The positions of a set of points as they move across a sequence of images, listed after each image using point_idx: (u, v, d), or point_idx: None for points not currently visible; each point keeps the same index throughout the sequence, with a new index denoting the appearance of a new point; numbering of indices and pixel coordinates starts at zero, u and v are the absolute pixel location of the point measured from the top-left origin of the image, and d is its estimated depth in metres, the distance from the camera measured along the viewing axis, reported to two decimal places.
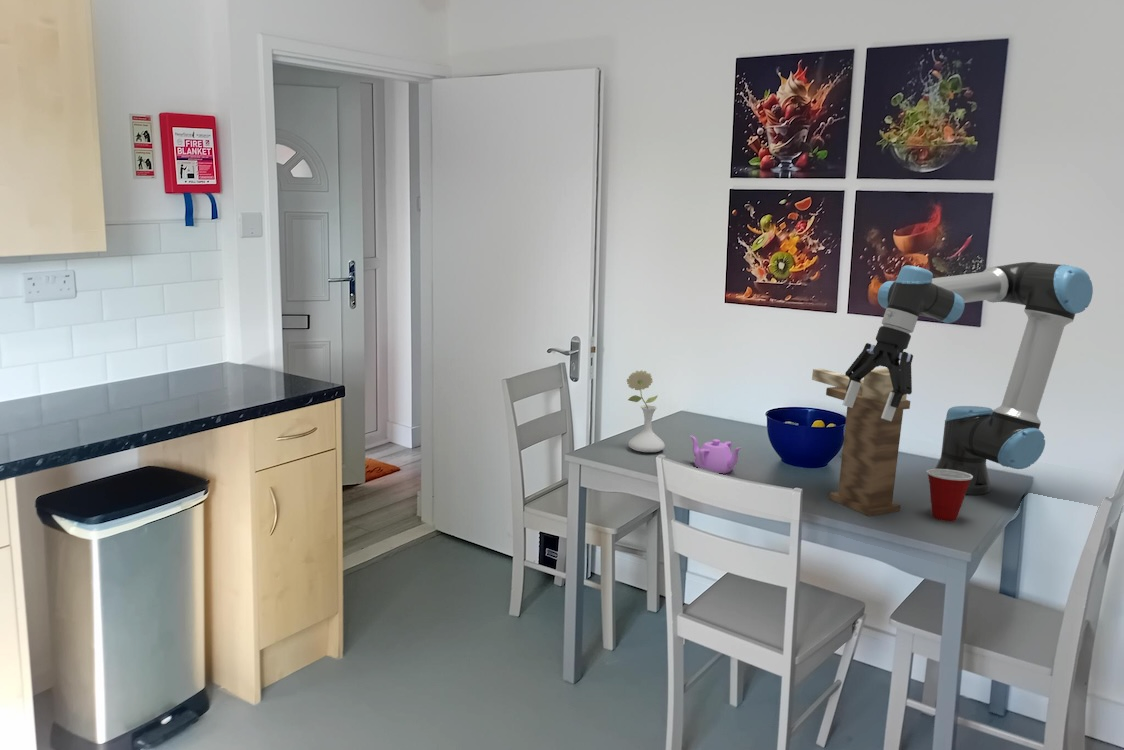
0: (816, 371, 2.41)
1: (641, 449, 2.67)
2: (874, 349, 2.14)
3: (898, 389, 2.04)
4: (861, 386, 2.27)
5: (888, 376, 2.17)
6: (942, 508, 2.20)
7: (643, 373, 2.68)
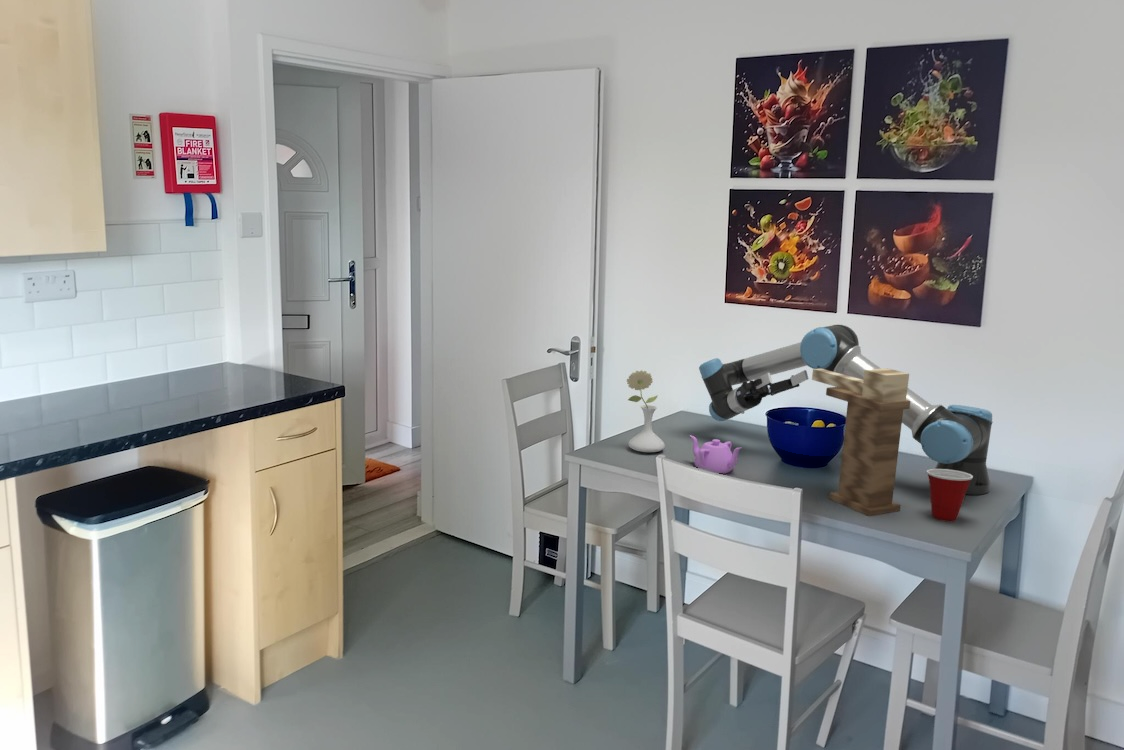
0: (816, 371, 2.41)
1: (641, 449, 2.67)
2: None
3: (751, 388, 2.56)
4: (861, 386, 2.27)
5: (888, 376, 2.17)
6: (942, 508, 2.20)
7: (643, 373, 2.68)
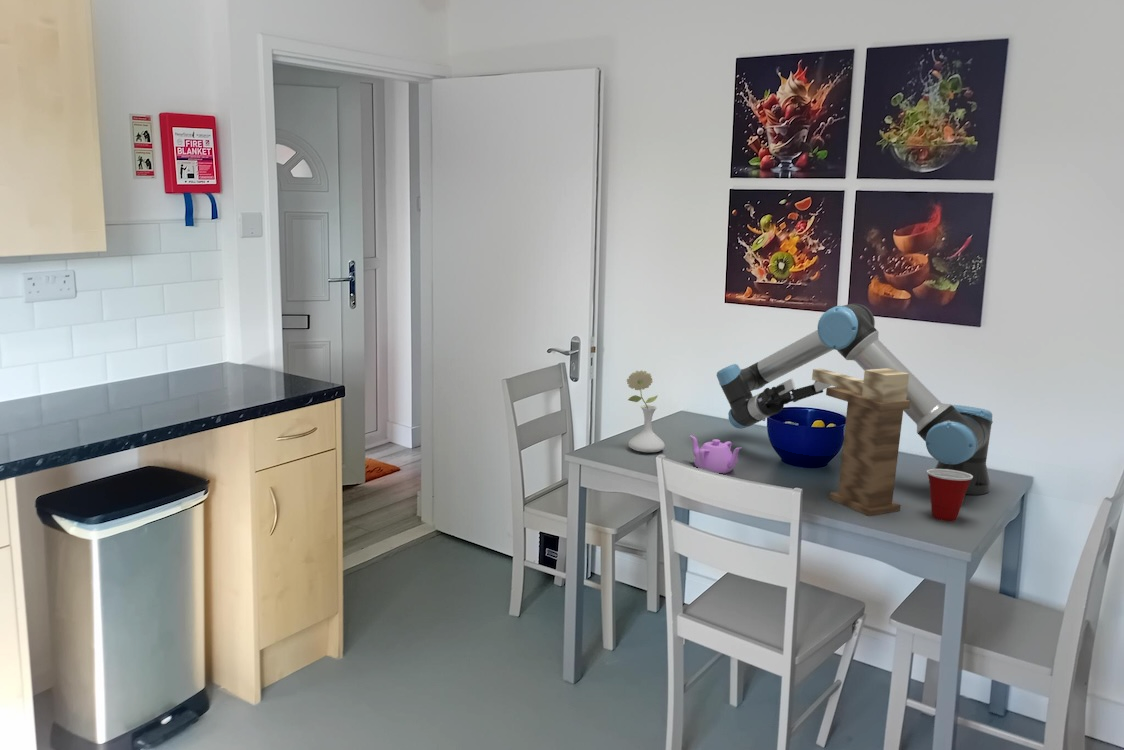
0: (816, 371, 2.41)
1: (641, 449, 2.67)
2: None
3: (773, 395, 2.47)
4: (861, 386, 2.27)
5: (888, 376, 2.17)
6: (942, 508, 2.20)
7: (643, 373, 2.68)
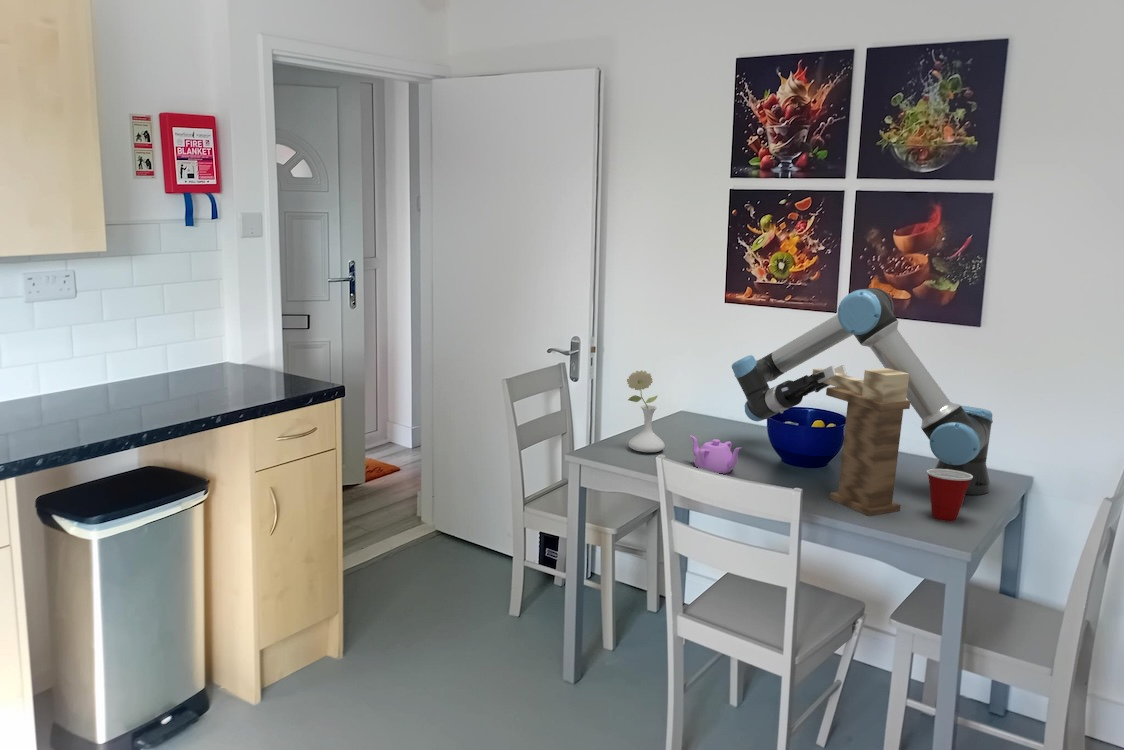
0: (816, 371, 2.41)
1: (641, 449, 2.67)
2: None
3: (812, 382, 2.40)
4: (861, 386, 2.27)
5: (888, 376, 2.17)
6: (942, 508, 2.20)
7: (643, 373, 2.68)
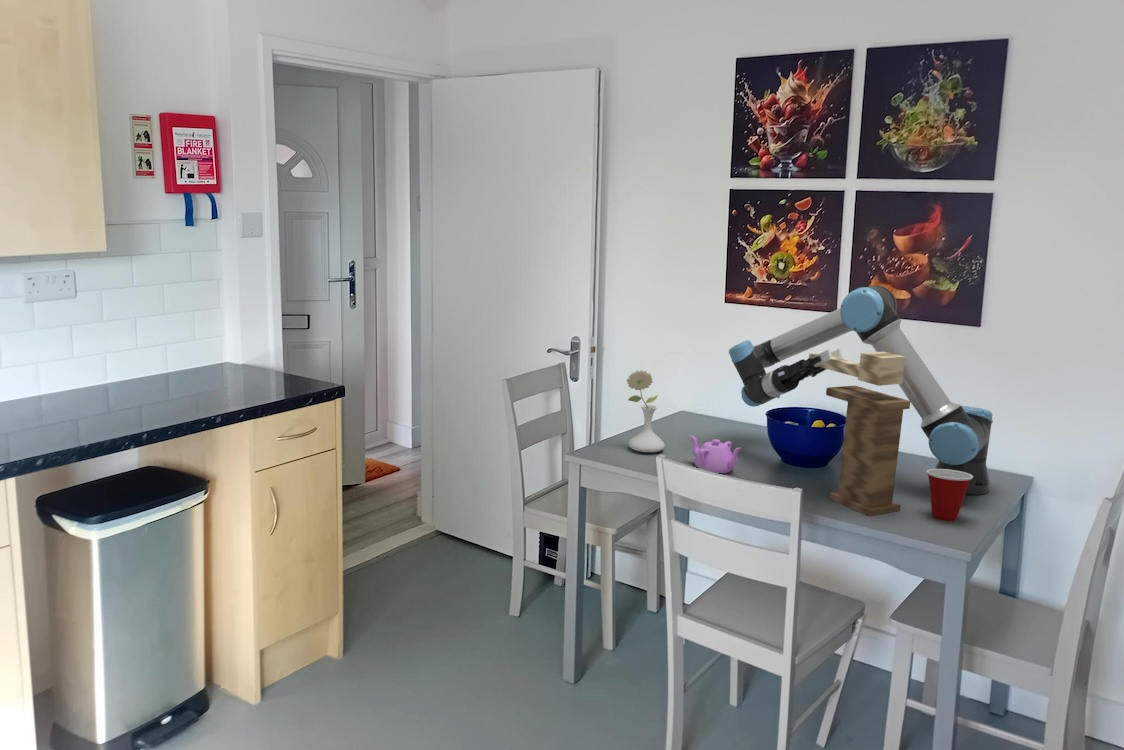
0: (812, 355, 2.42)
1: (641, 449, 2.67)
2: None
3: (809, 366, 2.41)
4: (857, 369, 2.28)
5: (884, 359, 2.17)
6: (942, 508, 2.20)
7: (643, 373, 2.68)
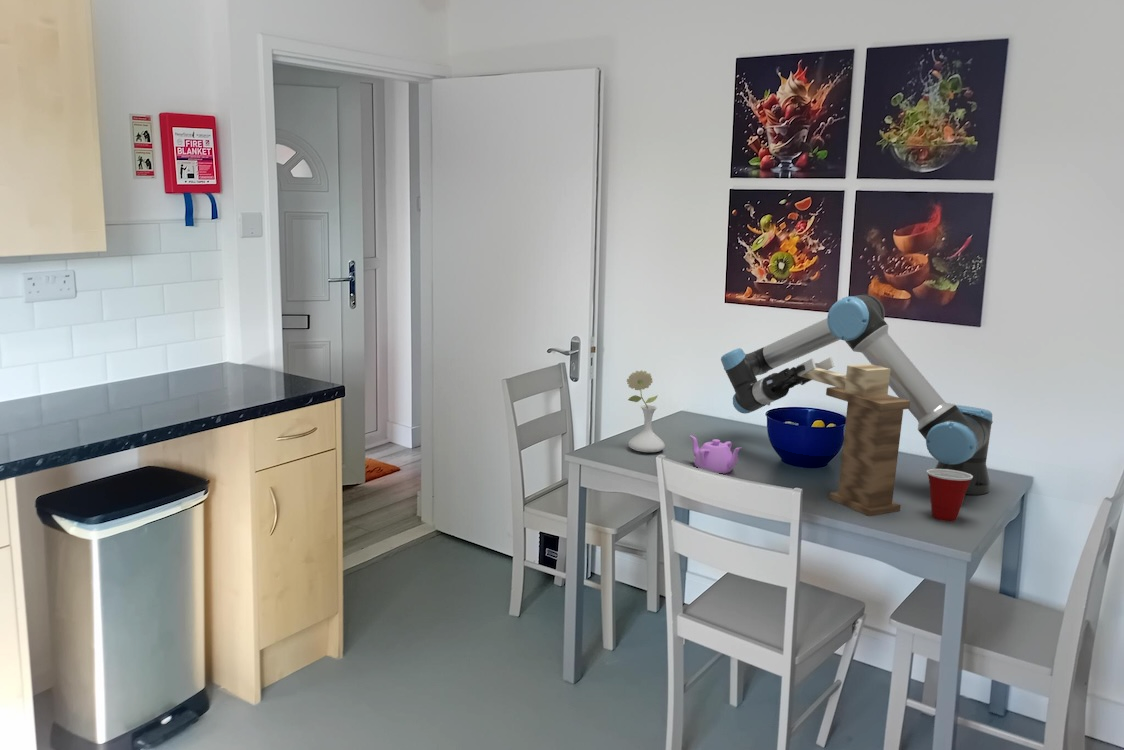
0: None
1: (641, 449, 2.67)
2: None
3: (793, 375, 2.45)
4: (844, 381, 2.32)
5: (869, 371, 2.22)
6: (942, 508, 2.20)
7: (643, 373, 2.68)
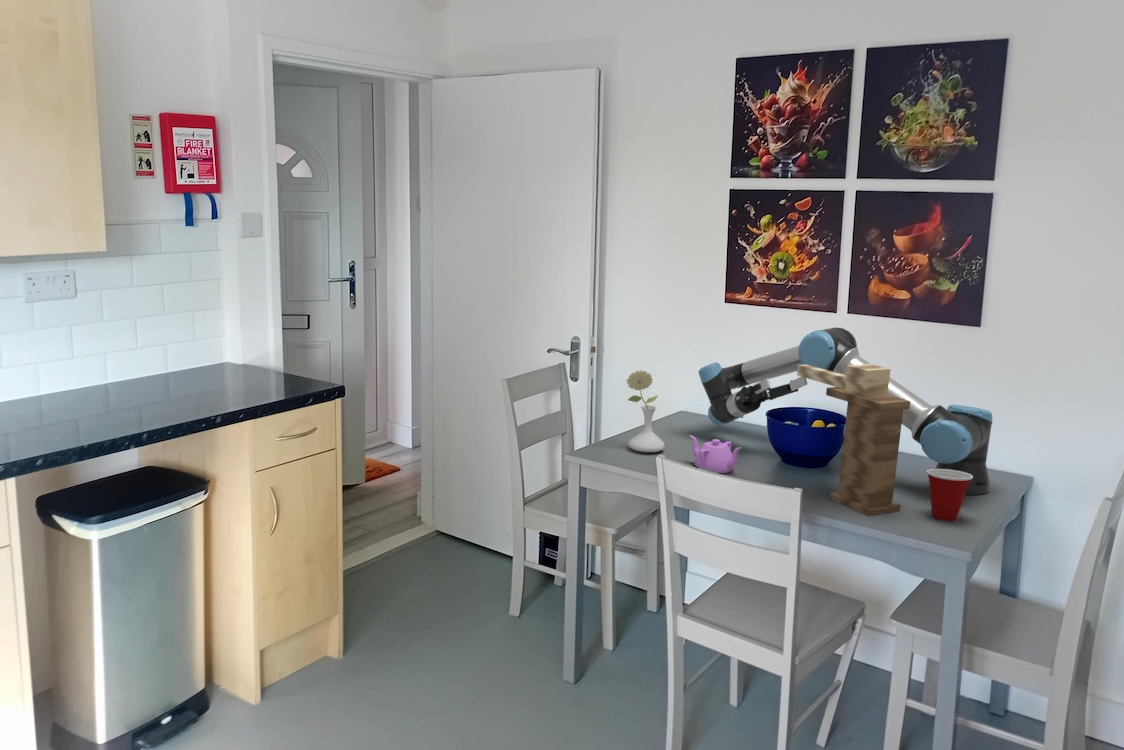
0: (801, 367, 2.47)
1: (641, 449, 2.67)
2: None
3: (750, 394, 2.57)
4: (844, 381, 2.32)
5: (869, 371, 2.22)
6: (942, 508, 2.20)
7: (643, 373, 2.68)
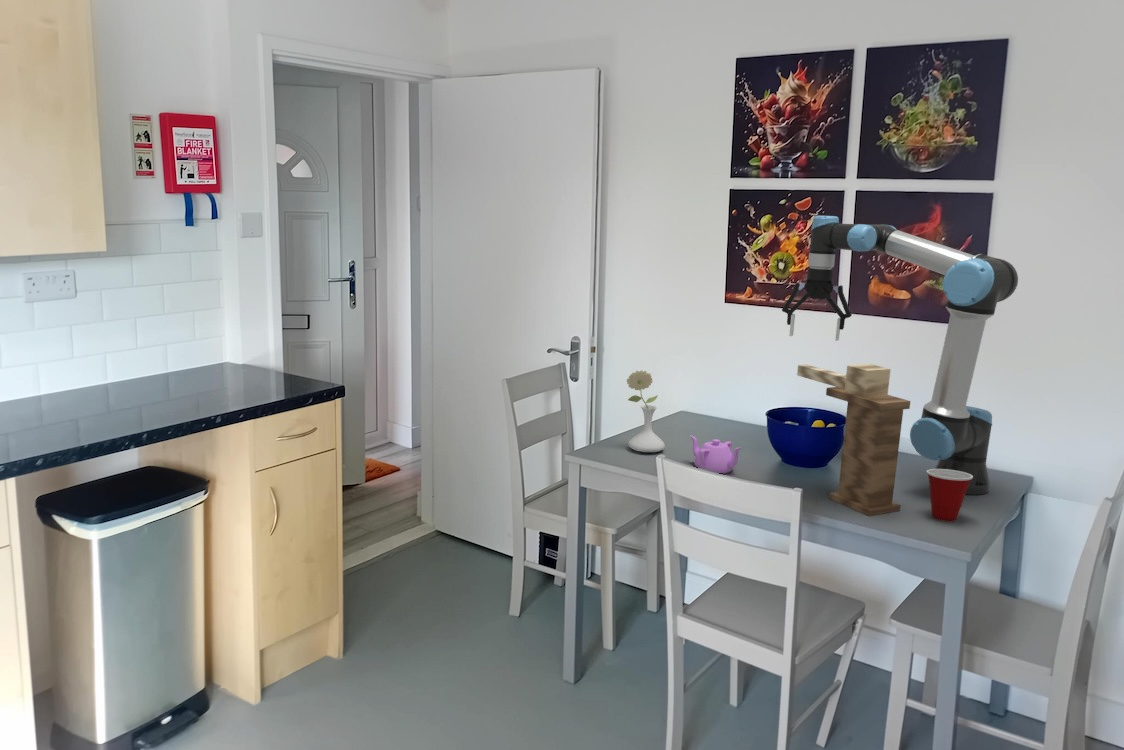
0: (801, 367, 2.47)
1: (641, 449, 2.67)
2: None
3: None
4: (844, 381, 2.32)
5: (869, 371, 2.22)
6: (942, 508, 2.20)
7: (643, 373, 2.68)
